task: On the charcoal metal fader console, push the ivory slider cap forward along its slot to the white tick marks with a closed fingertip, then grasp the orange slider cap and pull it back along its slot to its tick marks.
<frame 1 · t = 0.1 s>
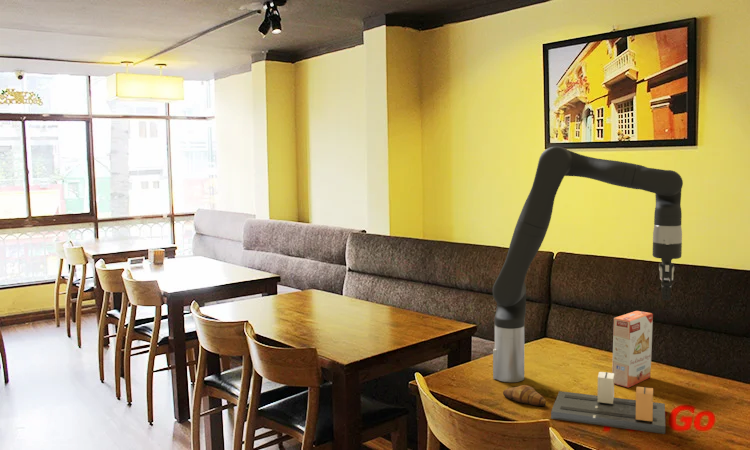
hand: (665, 296, 186), 29 cm above the table, fingers open, 8 cm apart
croissant: (524, 402, 187), on the table
orange fader: (644, 403, 167), point 6 cm above the table, slide at 0.0 cm
ivory fader: (605, 387, 180), point 6 cm above the table, slide at 0.0 cm
console: (608, 414, 176), on the table
cracker box: (632, 381, 201), on the table
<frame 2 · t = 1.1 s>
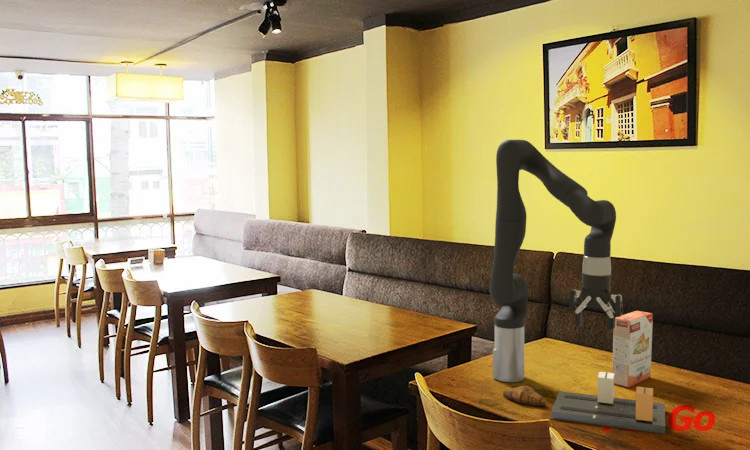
hand: (594, 328, 183), 21 cm above the table, fingers open, 8 cm apart
nothing on the table moved.
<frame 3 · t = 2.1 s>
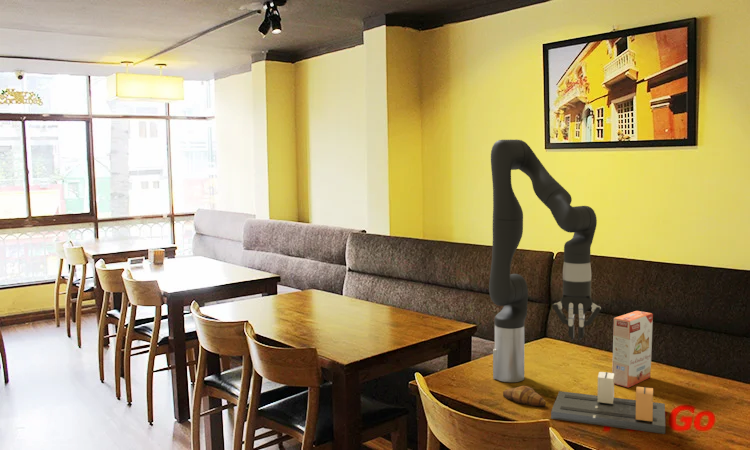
hand: (576, 338, 181), 19 cm above the table, fingers closed
nothing on the table moved.
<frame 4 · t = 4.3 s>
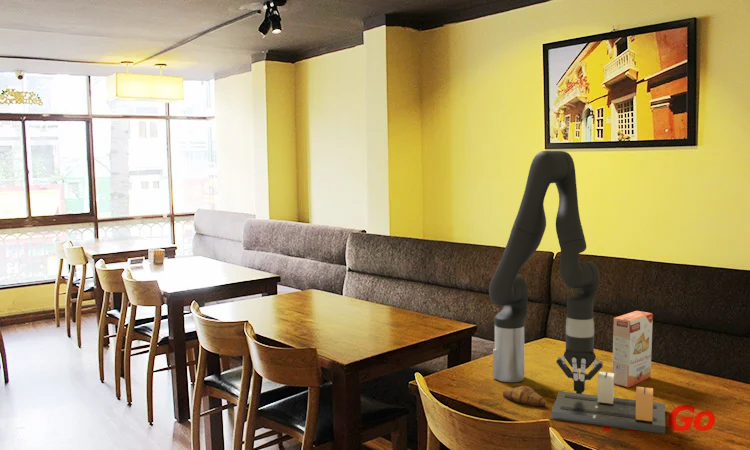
hand: (579, 392, 183), 4 cm above the table, fingers closed
nothing on the table moved.
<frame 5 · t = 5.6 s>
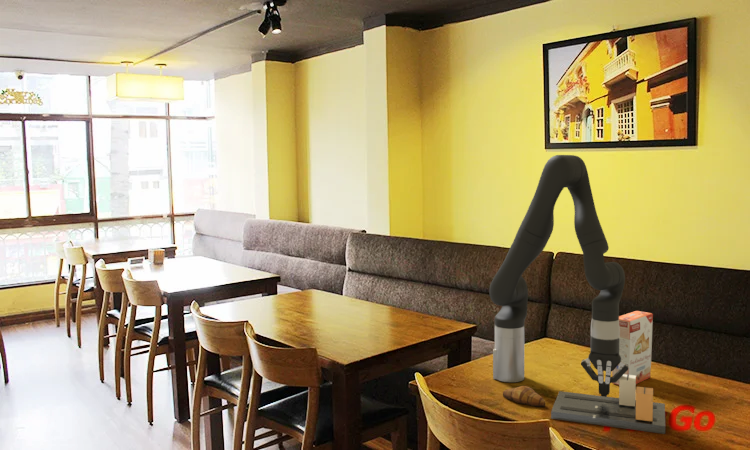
hand: (604, 395, 180), 4 cm above the table, fingers closed
ivory fader: (627, 389, 177), point 6 cm above the table, slide at 5.6 cm, touching hand
everything else where it was.
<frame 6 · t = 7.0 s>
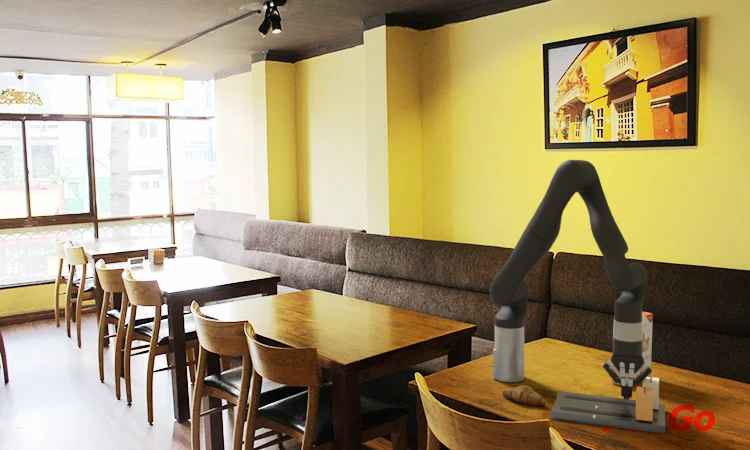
hand: (626, 398, 178), 4 cm above the table, fingers closed
ivory fader: (650, 392, 175), point 6 cm above the table, slide at 11.4 cm, touching hand
everything else where it was.
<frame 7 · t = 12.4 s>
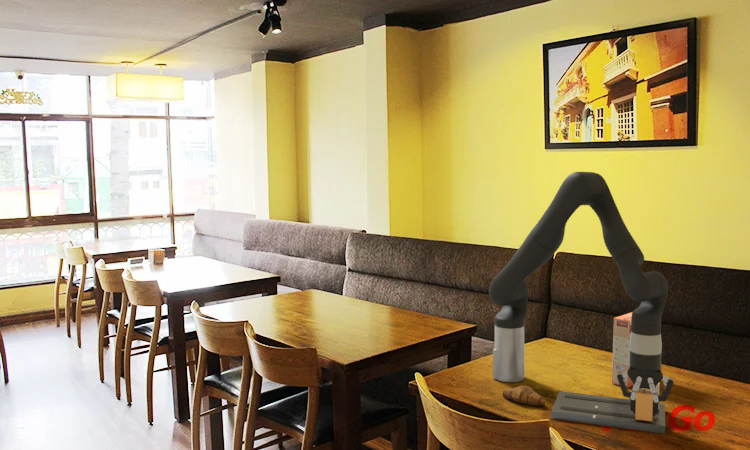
hand: (644, 413, 168), 3 cm above the table, fingers closed on orange fader, 4 cm apart
orange fader: (644, 403, 167), point 6 cm above the table, slide at 0.0 cm, touching gripper
ivory fader: (651, 392, 175), point 6 cm above the table, slide at 11.5 cm
everything else where it was.
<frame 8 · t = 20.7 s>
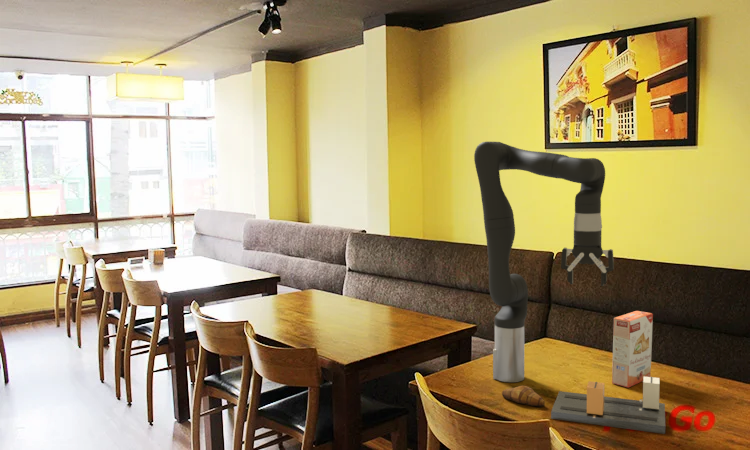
hand: (586, 284, 186), 33 cm above the table, fingers open, 8 cm apart
orange fader: (595, 397, 172), point 6 cm above the table, slide at 12.0 cm
everything else where it was.
at the end: ivory fader slide at 11.5 cm; orange fader slide at 12.0 cm; the gripper is holding nothing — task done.
